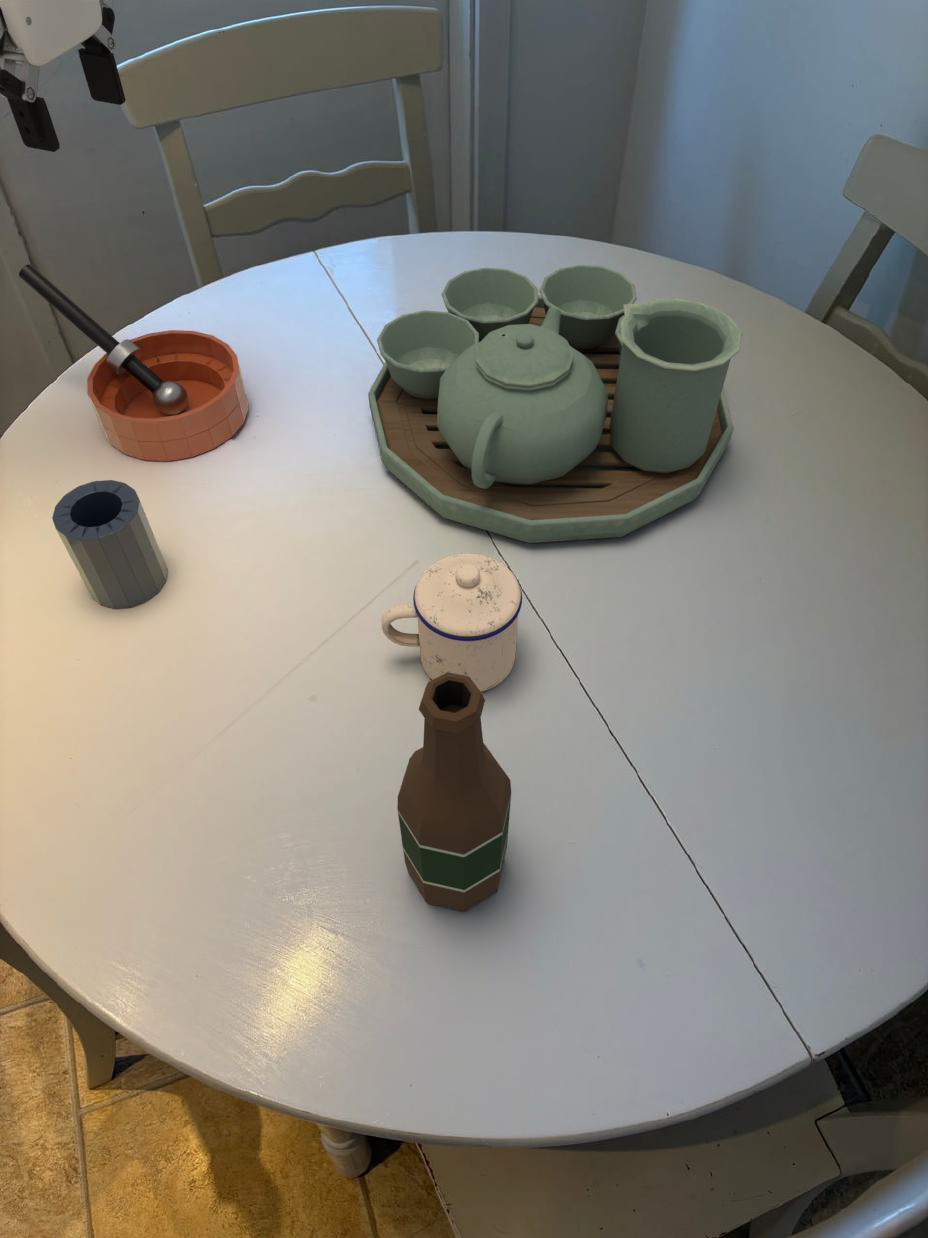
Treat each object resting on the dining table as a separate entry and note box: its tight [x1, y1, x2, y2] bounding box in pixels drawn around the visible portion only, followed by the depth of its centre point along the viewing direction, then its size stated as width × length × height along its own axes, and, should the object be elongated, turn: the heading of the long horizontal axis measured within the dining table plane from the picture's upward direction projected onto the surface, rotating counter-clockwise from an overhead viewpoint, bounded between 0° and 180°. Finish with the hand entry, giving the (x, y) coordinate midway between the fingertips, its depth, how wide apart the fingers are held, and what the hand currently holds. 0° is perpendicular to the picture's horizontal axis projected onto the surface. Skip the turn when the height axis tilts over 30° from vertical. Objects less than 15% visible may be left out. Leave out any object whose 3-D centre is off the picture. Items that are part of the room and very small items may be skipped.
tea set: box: [367, 264, 743, 544], centre depth 95 cm, size 40×40×16 cm
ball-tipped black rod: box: [18, 263, 188, 416], centre depth 98 cm, size 4×4×22 cm
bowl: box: [86, 329, 250, 462], centre depth 99 cm, size 16×16×6 cm
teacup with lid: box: [380, 553, 523, 693], centre depth 76 cm, size 12×9×12 cm
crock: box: [51, 479, 169, 610], centre depth 82 cm, size 7×7×10 cm
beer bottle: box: [396, 672, 512, 912], centre depth 59 cm, size 8×8×24 cm
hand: (77, 123), depth 77 cm, fingers open, 9 cm apart
